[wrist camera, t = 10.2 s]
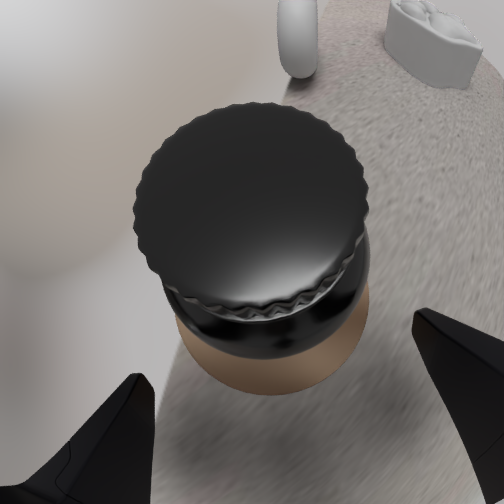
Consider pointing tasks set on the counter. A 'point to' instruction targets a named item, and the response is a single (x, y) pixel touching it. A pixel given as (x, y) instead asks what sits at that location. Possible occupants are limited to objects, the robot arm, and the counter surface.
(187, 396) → the counter surface
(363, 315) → the walnut trivet
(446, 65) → the lumpy-topped squat cylinder
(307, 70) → the donut
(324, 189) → the supplement bottle
